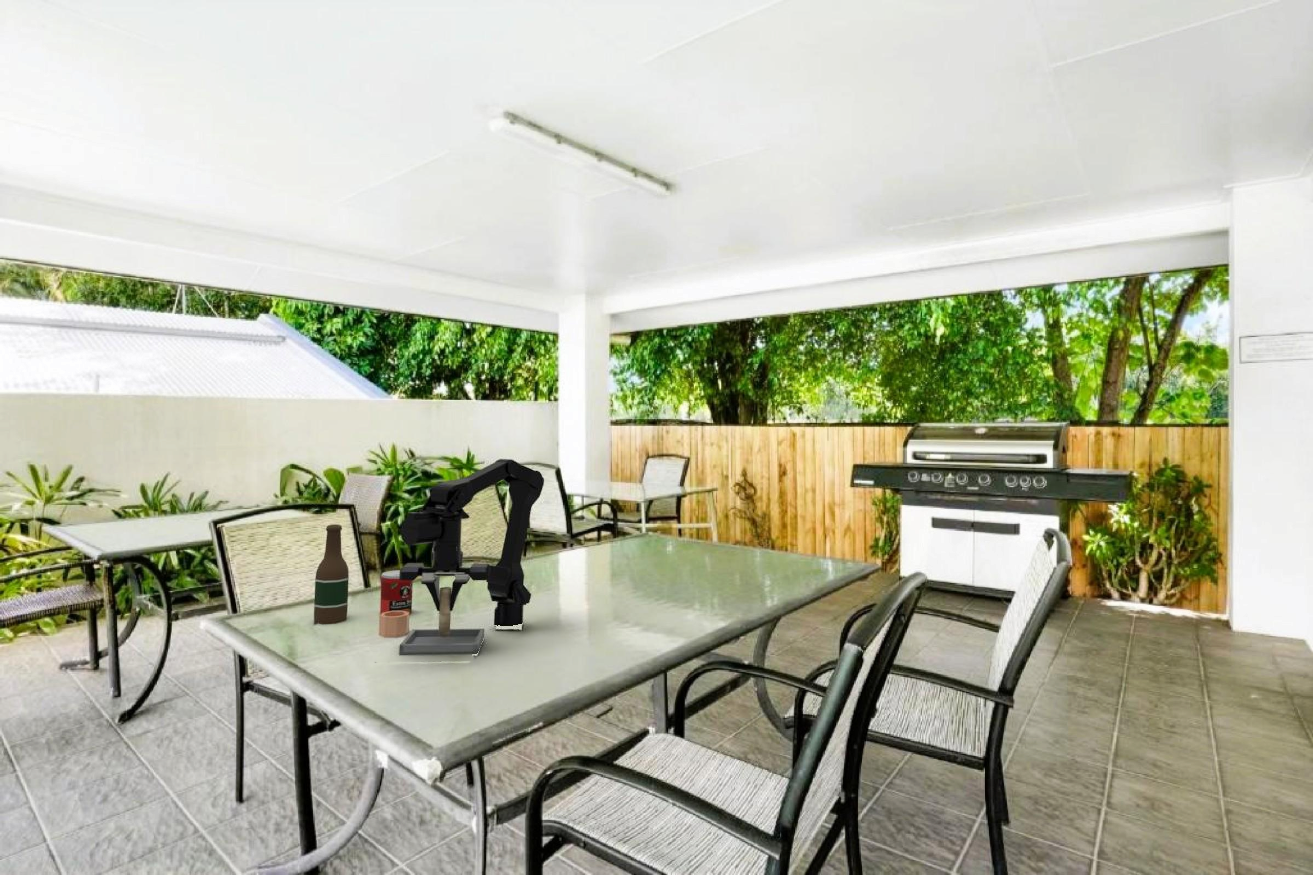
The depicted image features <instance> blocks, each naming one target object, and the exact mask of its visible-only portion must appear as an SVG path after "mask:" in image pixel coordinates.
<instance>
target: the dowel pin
mask: <svg viewBox="0 0 1313 875" xmlns="http://www.w3.org/2000/svg"><path fill="white" fill-rule="evenodd" d="M439 589H440V606H439V611H438V629H439V637H449V636H450V629H451V615H452V614H451V612H452V611H450V601H451V593H452V587H450V586H444V587H439Z"/></svg>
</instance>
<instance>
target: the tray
mask: <svg viewBox="0 0 1313 875" xmlns="http://www.w3.org/2000/svg"><path fill="white" fill-rule="evenodd" d="M483 638H484V639H485V628H450V636H449V637H439V628H421V629H420V628H418V629H416V628H412V630H411V631H409V632H408V633H407V635H406V636H405V638H404V640H402V641H401V643H400V644H399V646H398V648H399V649H398V650H399V652H398V655H399V656H425V655H426V656H427V655H429V656H433V655H434V656H435V655H437V656H439V655H440V656H441V655H447V656H448V655H472V654H477V653H478V651H479V648H480V646H481V643H482V641H483ZM483 642H484V641H483ZM482 644H483V643H482ZM481 647H482V646H481ZM480 649H481V648H480ZM479 652H480V651H479ZM478 654H479V653H478Z"/></svg>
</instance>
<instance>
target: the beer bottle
mask: <svg viewBox="0 0 1313 875" xmlns="http://www.w3.org/2000/svg"><path fill="white" fill-rule="evenodd" d="M342 530H343V527H342V525H341V524H329V525H327V526H326V528H325V531H326V539H325V540H326V541H325V549H324V554H323V559H322V560H321V562H320V563H319V565H318V566H317V569H316V571H315V578H314V603H313V605H314V606H313V624H314V625H315V626H316V625H332V624H333V625H334V624H339V623H343V622H346V620H347V618H348V607H349V606H348V605H349V604H348V602H349V578H350V576H349V567H348V563H347V561H346V560H345V559H344V557H343V553H342V533H341V532H342Z"/></svg>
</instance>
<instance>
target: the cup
mask: <svg viewBox="0 0 1313 875" xmlns="http://www.w3.org/2000/svg"><path fill="white" fill-rule="evenodd" d="M378 625H379V628H378V636H381V637H383V638H398V637H403V636H407V635H408V634H409V633H410V615H409V612H406V611H388V612H383V613H382V614H381V615H380V614H379V623H378Z"/></svg>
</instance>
